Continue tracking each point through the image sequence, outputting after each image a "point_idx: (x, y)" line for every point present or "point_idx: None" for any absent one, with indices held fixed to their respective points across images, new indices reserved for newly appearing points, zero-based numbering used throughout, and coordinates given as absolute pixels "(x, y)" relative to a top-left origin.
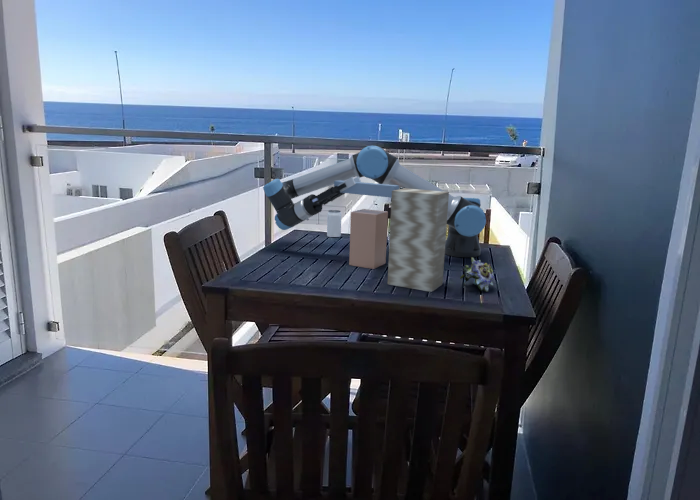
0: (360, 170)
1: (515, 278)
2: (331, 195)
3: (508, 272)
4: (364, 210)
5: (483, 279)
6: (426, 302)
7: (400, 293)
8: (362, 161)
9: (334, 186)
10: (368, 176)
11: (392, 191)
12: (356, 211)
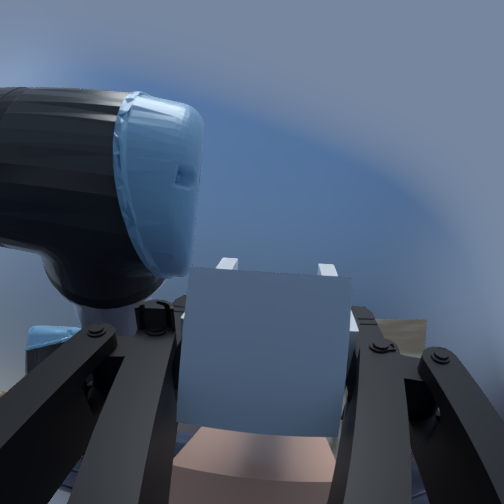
0: (190, 214)
1: None
2: (417, 455)
3: (185, 435)
4: (230, 461)
5: None
6: (413, 465)
7: (414, 487)
8: (200, 165)
9: (346, 358)
10: (189, 264)
11: (425, 321)
12: (299, 474)
